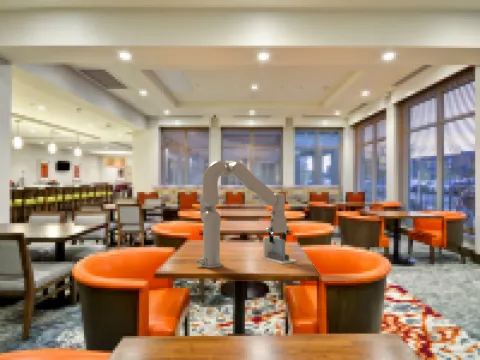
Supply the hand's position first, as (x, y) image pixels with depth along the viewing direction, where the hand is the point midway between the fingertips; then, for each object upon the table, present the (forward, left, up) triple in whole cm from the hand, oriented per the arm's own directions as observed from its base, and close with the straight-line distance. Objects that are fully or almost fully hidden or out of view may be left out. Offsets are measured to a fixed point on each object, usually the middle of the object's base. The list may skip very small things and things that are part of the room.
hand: (277, 241), depth 191 cm
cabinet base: (+2, 0, -11) cm, 11 cm away
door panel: (0, 0, -10) cm, 10 cm away
